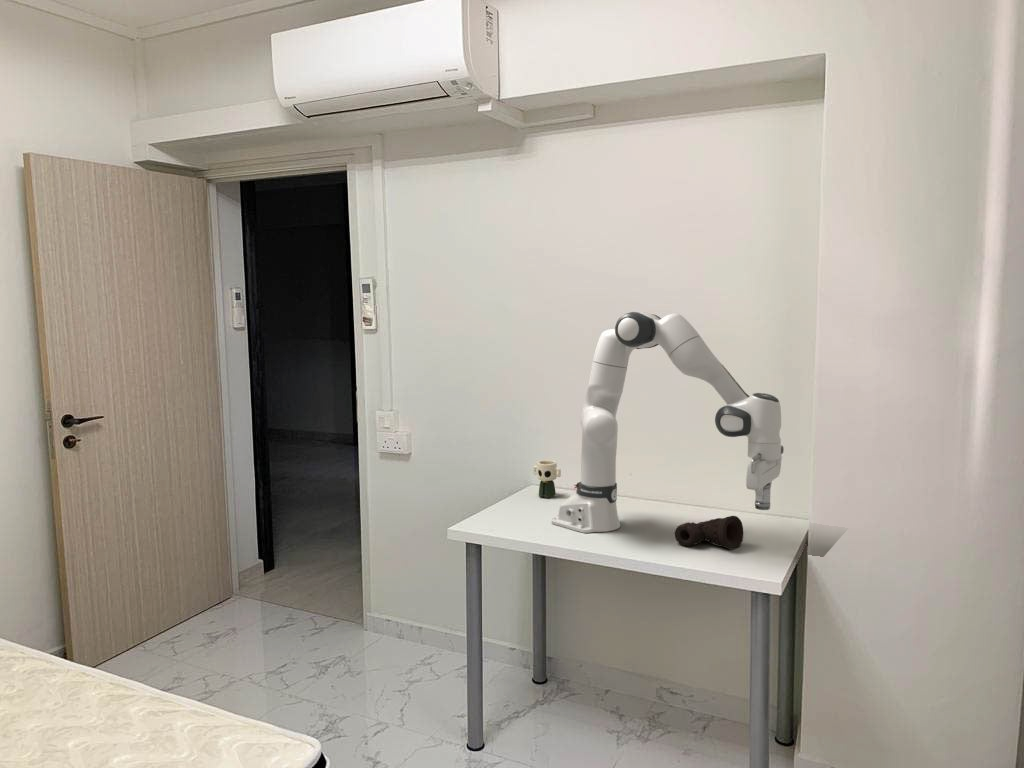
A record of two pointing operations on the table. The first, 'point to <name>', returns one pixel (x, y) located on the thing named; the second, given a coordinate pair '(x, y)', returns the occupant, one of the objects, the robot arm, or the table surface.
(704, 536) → the pipe
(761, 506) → the container
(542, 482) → the character mug
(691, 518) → the table surface
